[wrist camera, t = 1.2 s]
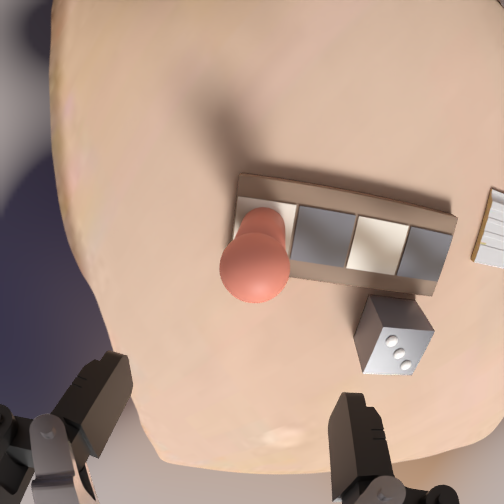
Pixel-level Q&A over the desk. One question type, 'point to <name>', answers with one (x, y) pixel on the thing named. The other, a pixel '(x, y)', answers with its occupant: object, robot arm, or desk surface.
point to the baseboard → (491, 233)
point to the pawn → (256, 258)
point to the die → (391, 336)
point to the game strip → (352, 234)
